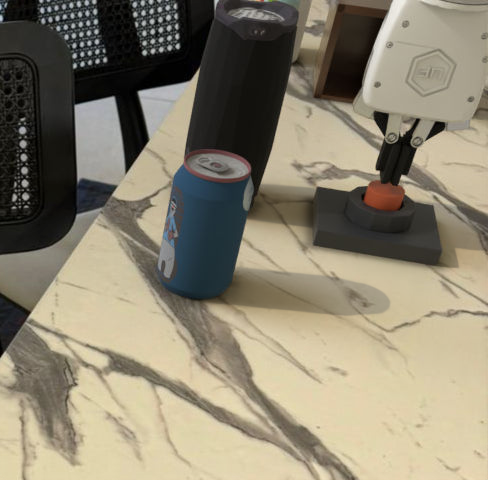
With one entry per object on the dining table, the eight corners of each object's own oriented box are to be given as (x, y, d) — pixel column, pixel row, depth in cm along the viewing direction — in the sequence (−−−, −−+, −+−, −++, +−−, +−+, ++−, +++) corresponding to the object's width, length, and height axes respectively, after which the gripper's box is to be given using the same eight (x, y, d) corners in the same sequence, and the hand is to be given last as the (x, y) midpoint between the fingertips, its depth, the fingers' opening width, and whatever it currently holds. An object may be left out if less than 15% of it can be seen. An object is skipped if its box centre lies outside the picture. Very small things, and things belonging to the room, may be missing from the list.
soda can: (242, 286, 95) (273, 164, 87) (204, 315, 91) (232, 190, 83) (180, 259, 98) (204, 138, 90) (139, 285, 94) (161, 162, 86)
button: (398, 199, 103) (404, 183, 102) (400, 215, 101) (406, 199, 100) (362, 193, 104) (367, 177, 103) (363, 209, 101) (369, 193, 100)
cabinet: (417, 90, 137) (449, -5, 129) (423, 118, 129) (457, 19, 121) (312, 74, 138) (336, -21, 131) (311, 101, 131) (338, 3, 123)
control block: (426, 224, 108) (439, 188, 105) (434, 270, 100) (449, 233, 98) (311, 205, 109) (321, 169, 106) (311, 249, 102) (322, 213, 99)
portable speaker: (253, 187, 111) (300, -3, 98) (258, 228, 104) (309, 30, 91) (175, 177, 112) (211, -13, 99) (174, 217, 105) (213, 18, 92)
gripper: (370, -21, 86) (311, 182, 98) (553, 5, 85) (470, 209, 97) (366, -44, 92) (311, 151, 104) (538, -20, 90) (461, 176, 102)
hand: (388, 178), depth 100 cm, fingers closed
